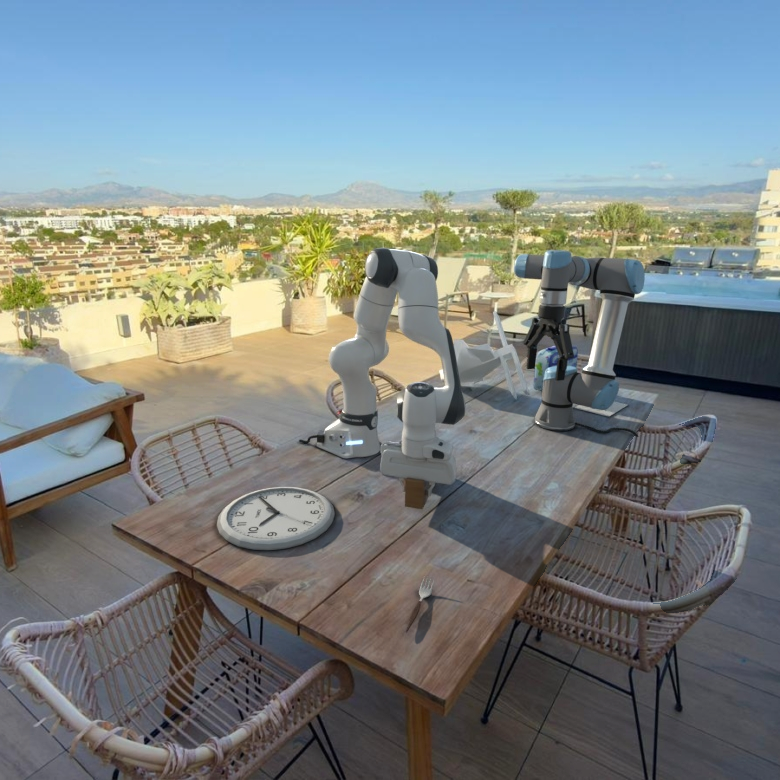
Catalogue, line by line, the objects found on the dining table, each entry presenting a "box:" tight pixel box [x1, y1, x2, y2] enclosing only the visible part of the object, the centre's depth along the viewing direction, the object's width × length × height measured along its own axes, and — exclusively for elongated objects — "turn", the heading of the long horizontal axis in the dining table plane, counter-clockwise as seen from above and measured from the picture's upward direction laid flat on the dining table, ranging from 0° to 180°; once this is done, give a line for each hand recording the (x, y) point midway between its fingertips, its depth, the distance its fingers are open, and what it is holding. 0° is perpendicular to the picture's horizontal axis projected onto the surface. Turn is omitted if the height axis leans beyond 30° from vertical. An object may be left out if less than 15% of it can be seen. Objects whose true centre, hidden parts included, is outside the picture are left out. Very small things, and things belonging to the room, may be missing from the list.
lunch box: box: [533, 345, 579, 392], centre depth 247 cm, size 26×11×21 cm, turn 134°
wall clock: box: [216, 486, 336, 551], centre depth 136 cm, size 30×2×30 cm
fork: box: [405, 574, 436, 633], centre depth 105 cm, size 3×16×2 cm, turn 160°
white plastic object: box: [438, 310, 531, 400], centre depth 245 cm, size 37×45×31 cm
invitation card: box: [573, 401, 629, 418], centre depth 226 cm, size 21×1×15 cm
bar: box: [404, 477, 434, 510], centre depth 148 cm, size 25×5×8 cm, turn 163°
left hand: (417, 492), depth 140 cm, fingers closed on bar, 5 cm apart
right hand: (544, 374), depth 160 cm, fingers open, 13 cm apart
